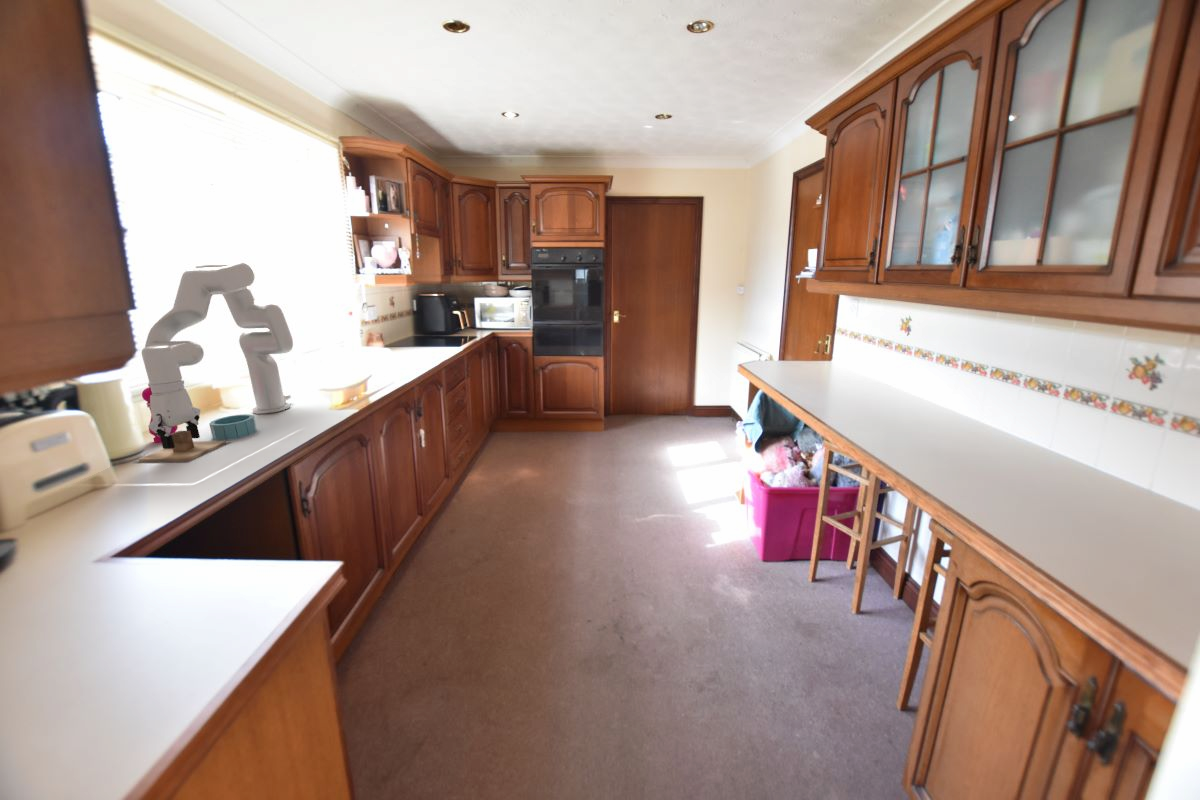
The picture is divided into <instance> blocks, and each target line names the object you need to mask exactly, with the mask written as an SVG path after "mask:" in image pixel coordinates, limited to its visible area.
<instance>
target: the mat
mask: <svg viewBox="0 0 1200 800" xmlns="http://www.w3.org/2000/svg"><path fill="white" fill-rule="evenodd" d="M226 443H227V444H224V445H222V446H220V447H218V448H216V449H213V450H211V451H209V452H207V453H205V454H202V455H200V456H198V457H196V458H194V459H191V460H189V461H168V462H139V460H137V461H134V462H133V464H181V463H182V464H188V463H191V462H192V461H195V460H198V459H199V458H201V457H203V456H206V455H208V454H210V453H212V452H215V451H216V450H218V449H221V448H223V447H226V446H227V445H229V444H232V442H230V441H229V442H227V441H226Z"/></svg>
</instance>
